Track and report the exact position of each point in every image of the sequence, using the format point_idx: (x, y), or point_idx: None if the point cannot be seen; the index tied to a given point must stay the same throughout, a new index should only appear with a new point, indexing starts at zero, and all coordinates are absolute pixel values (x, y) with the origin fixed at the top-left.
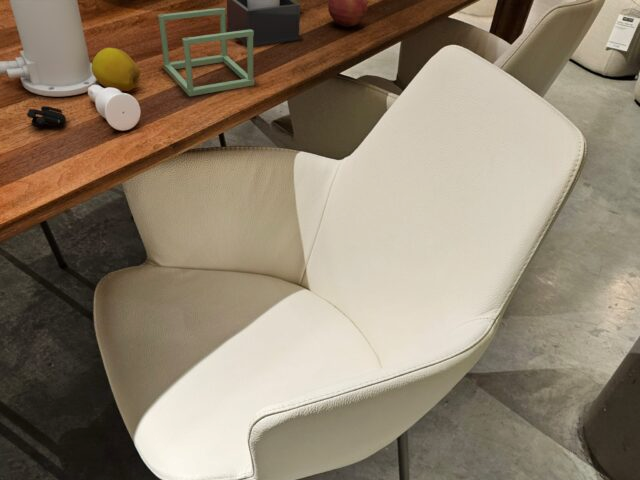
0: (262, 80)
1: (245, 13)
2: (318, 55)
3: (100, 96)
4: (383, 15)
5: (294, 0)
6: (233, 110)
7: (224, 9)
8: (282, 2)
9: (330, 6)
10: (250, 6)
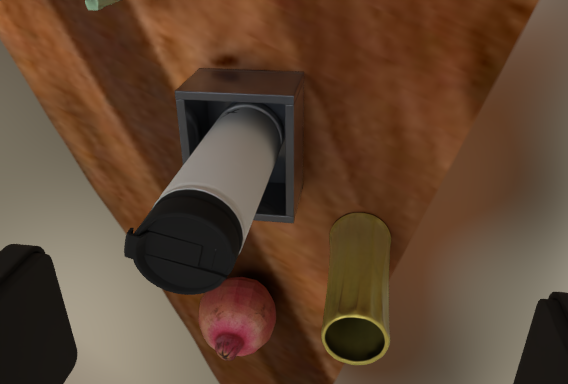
0: (39, 17)
1: (186, 88)
2: (132, 174)
3: None
4: (279, 371)
5: (330, 257)
6: None
7: (86, 5)
8: (258, 206)
9: (240, 285)
10: (228, 121)
